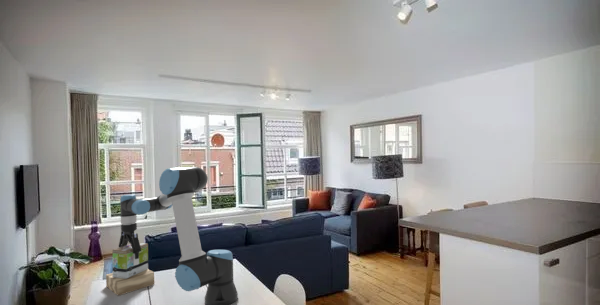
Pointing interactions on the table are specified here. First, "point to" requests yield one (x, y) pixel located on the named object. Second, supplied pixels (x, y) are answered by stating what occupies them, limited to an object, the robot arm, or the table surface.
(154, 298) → the table surface
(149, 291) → the table surface
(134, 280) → the oak block
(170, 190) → the robot arm
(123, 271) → the tea box
